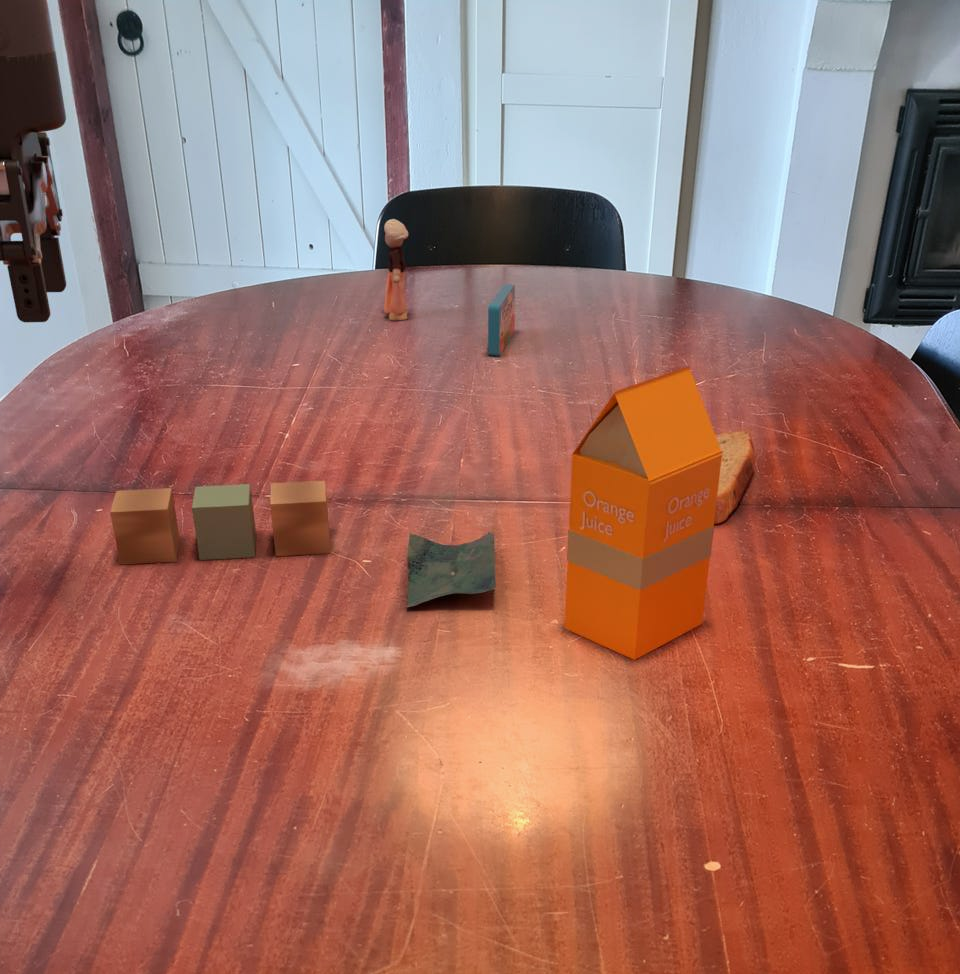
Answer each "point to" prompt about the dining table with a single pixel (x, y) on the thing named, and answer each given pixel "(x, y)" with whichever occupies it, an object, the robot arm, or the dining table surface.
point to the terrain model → (449, 568)
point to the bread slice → (733, 471)
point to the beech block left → (145, 526)
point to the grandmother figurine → (395, 271)
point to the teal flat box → (501, 319)
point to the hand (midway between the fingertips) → (43, 305)
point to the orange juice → (642, 517)
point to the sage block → (224, 521)
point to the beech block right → (300, 518)
